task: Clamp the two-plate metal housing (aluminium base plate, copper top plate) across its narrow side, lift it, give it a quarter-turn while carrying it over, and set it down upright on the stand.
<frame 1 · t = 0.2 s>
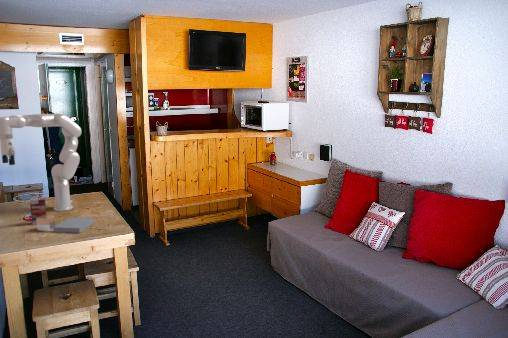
hand: (8, 163, 275), 37 cm above the table, tool pointing down, fingers open, 9 cm apart
stand: (74, 227, 269), on the table
housing: (46, 229, 265), on the table
supplement box: (39, 223, 277), on the table
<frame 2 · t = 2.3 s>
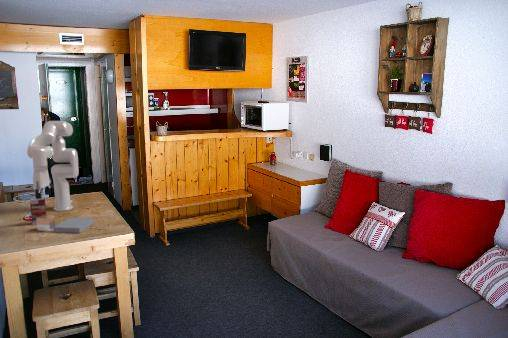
hand: (43, 196, 261), 21 cm above the table, tool pointing down, fingers open, 9 cm apart
nothing on the table moved.
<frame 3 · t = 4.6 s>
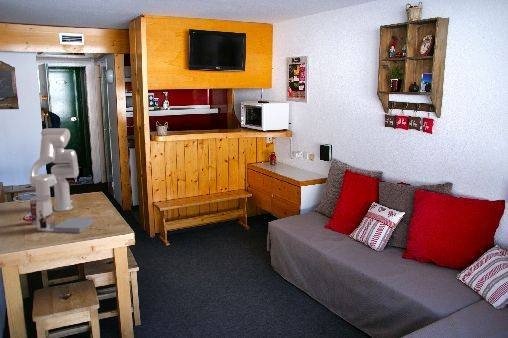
hand: (46, 225, 265), 2 cm above the table, tool pointing down, fingers closed on housing, 6 cm apart
housing: (46, 229, 265), on the table, touching gripper
everything else where it was.
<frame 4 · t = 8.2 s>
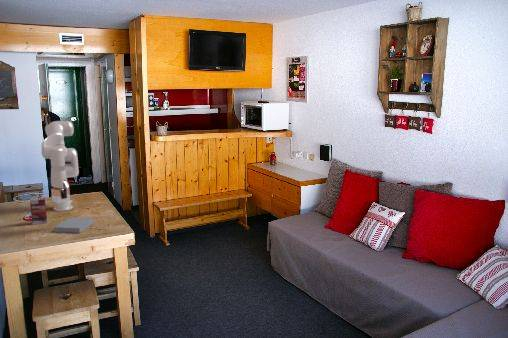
hand: (61, 197, 264), 20 cm above the table, tool pointing down, fingers closed on housing, 6 cm apart
housing: (61, 200, 264), point 17 cm above the table, touching gripper
everything else where it was.
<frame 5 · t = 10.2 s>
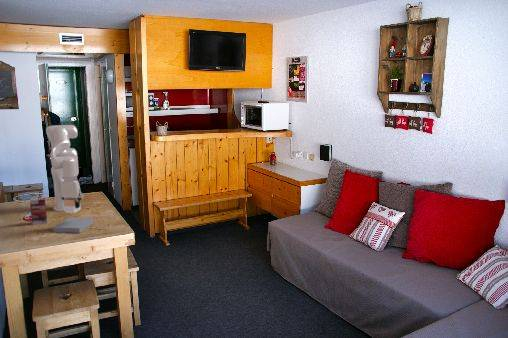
hand: (72, 207, 266), 13 cm above the table, tool pointing down, fingers closed on housing, 6 cm apart
housing: (72, 210, 267), point 11 cm above the table, touching gripper
everything else where it was.
when the fingers open (6 cm above the table, at t = 11.8 s): housing drops 1 cm, resting on stand.
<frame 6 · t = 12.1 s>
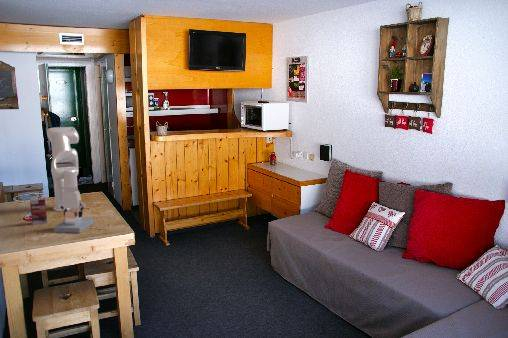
hand: (73, 216, 268), 7 cm above the table, tool pointing down, fingers open, 8 cm apart
housing: (73, 222, 268), point 3 cm above the table, touching stand
everything else where it was.
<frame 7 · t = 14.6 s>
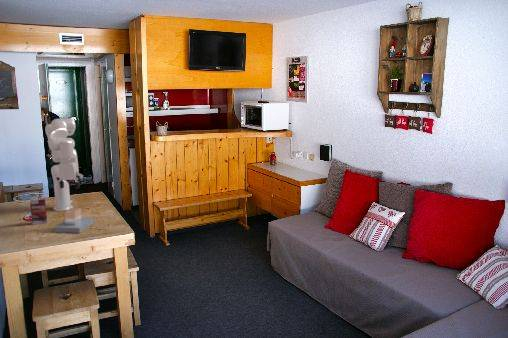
hand: (69, 188, 265), 25 cm above the table, tool pointing down, fingers open, 9 cm apart
nothing on the table moved.
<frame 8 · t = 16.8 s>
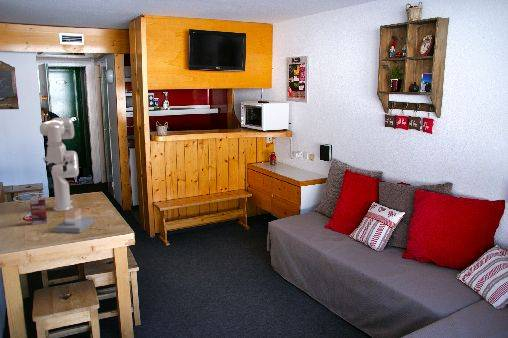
hand: (57, 171, 276), 32 cm above the table, tool pointing down, fingers open, 9 cm apart
nothing on the table moved.
at the end: housing inside the target area on the stand (0.1 cm from its centre), point 3.0 cm above the stand's base; housing tilted 0°; the gripper is holding nothing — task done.
